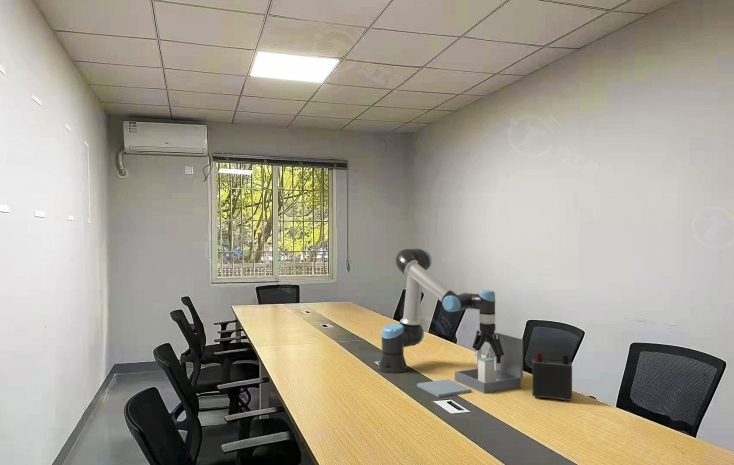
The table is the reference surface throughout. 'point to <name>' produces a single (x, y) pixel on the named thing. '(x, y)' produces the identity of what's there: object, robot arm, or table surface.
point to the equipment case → (508, 371)
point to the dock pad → (443, 388)
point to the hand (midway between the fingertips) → (487, 366)
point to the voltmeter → (552, 378)
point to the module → (486, 370)
